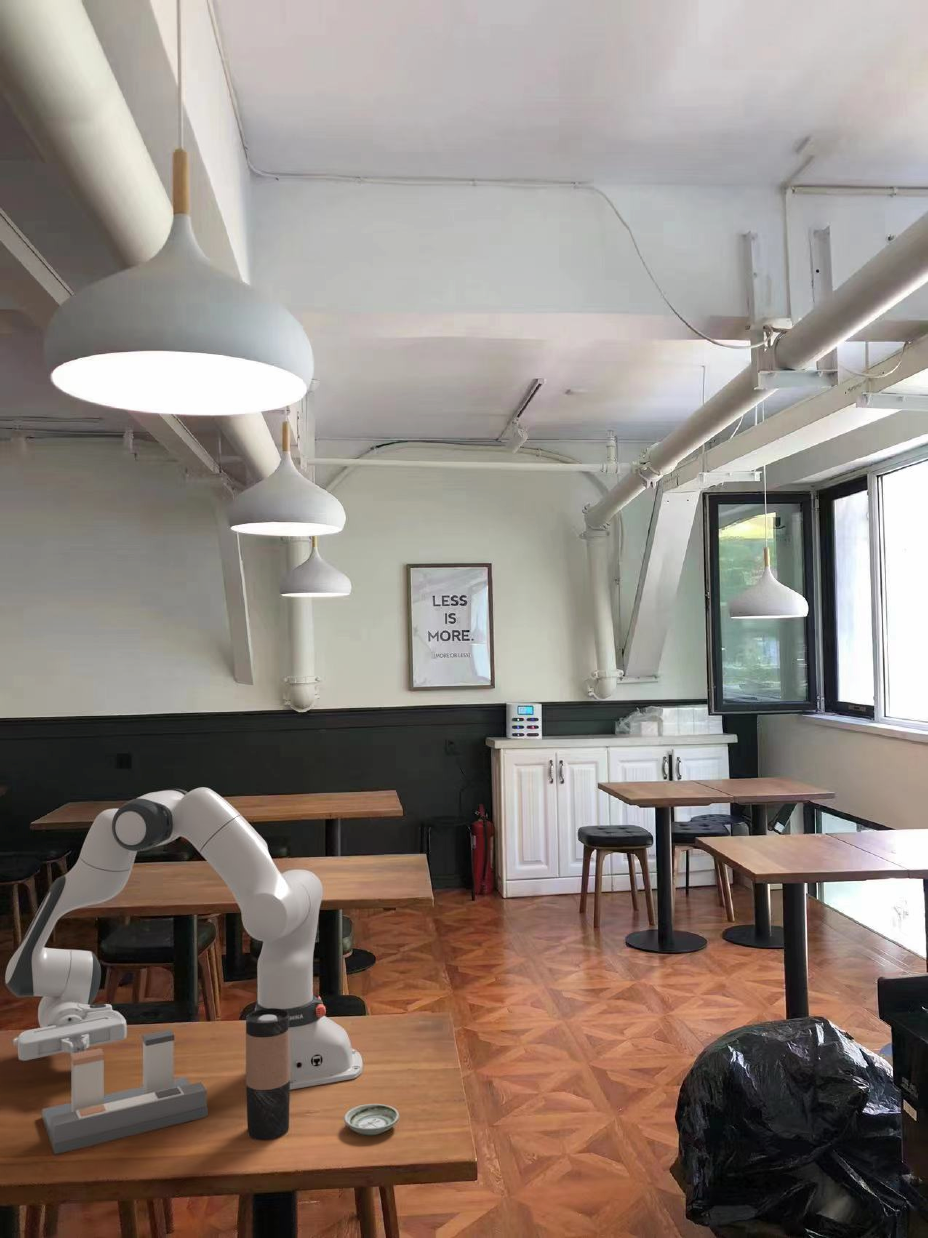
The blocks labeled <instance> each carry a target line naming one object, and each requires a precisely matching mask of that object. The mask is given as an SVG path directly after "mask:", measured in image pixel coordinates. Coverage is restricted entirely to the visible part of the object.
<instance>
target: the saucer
mask: <svg viewBox="0 0 928 1238" xmlns="http://www.w3.org/2000/svg"><path fill="white" fill-rule="evenodd" d="M399 1119H400V1114H399V1111H398V1110H397V1109H396V1108H395V1107H393V1106H391V1105H387V1104H381V1103H367V1104H363V1105H362V1104H361V1105H358V1106H355V1107H352V1108H351V1109H349V1110H348V1111H347V1112H346V1113H345V1115H344V1118H343V1120H344V1123H345V1125H346V1126H347V1127H348V1128H350V1129H351V1130H352V1131H354V1132H356V1133H358V1134H360V1135H363V1136H377V1135H380V1134H382V1133H385V1132H386V1131H388V1130H390V1129H391V1128H393V1126H395V1125H396V1123H398V1121H399Z"/></svg>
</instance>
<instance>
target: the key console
mask: <svg viewBox="0 0 928 1238" xmlns="http://www.w3.org/2000/svg"><path fill="white" fill-rule="evenodd" d="M207 1091H208V1090H207V1088H206V1087H205V1086H204V1085H203V1083H202V1082H196V1083H190V1081H189V1080H188V1078H187V1077H186V1076H183V1077H179V1078H174V1088H171V1089H166V1090H162V1091H158V1092H153V1093H149V1094H145V1095H143V1086H138V1087H135V1088H129V1089H126V1090H125V1089H124V1090H121V1091H116V1092H113V1093H108V1094H104V1104H101V1105H97V1106H92V1107H88V1108H84V1109H79V1110H76V1111H74V1112H71V1102H68V1103H64V1104H58V1105H54V1106H50V1107H45V1108H43V1109H42V1111H41V1113H42V1116H41V1117H42V1121H43V1123H44V1126H45V1129H46V1132H47V1135H48V1139H49V1141H50V1145H51V1148H52V1150H53V1154H54V1155H58V1154H62V1153H66V1152H70V1151H74V1150H78V1149H82V1148H86V1147H90V1146H95V1145H98V1144H102V1143H106V1142H110V1141H115V1140H119V1139H122V1138H127V1137H130V1136H135V1135H139V1134H143V1133H147V1132H150V1131H154V1130H159V1129H163V1128H166V1127H171V1126H175V1125H179V1124H183V1123H186V1122H190V1121H195V1120H198V1119H203V1118H207V1117H208V1116H209V1115H208V1114H209V1113H208V1112H209V1109H208V1105H207V1104H208V1103H207V1102H208V1100H207V1099H208V1092H207Z"/></svg>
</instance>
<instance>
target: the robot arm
mask: <svg viewBox="0 0 928 1238" xmlns="http://www.w3.org/2000/svg"><path fill="white" fill-rule="evenodd" d="M180 837H182V838H184V839H185V840H187V841H189V843H190V844H192V846H193V847H194V848H195V849H196V850H197V851H198V853H200V855H201V856H202V857H203V858H204V859H205V860H206V862H207V863H208V864H209V865H210V866H211V867H212V868H213V870H215V872H216V873H217V874H218V875H219V876H220V878H222V880H223V881H224V883H225V885H227V888H228V889H229V890H230V892H231V894H232V896H233V898H234V899H235V901H236V904H237V905H238V908H239V909H240V913H241V921H242V922H241V923H242V926H243V928H244V929H245V930H244V931H246V933H247V934H248V935H249V936H250V937H251V938H252V939H255V940H257V941H259V942H260V941H261V942H263V943H262V947H261V951H260V954H259V956H258V959H257V964H256V965H257V966H256V968H257V969H256V970H257V971H256V972H257V999H256V1001H255V1008H254V1011H257V1010H261V1009H268V1008H277V1009H282V1010H285V1011H287V1012H288V1014H289V1054H290V1091H291V1090H295V1089H297V1090H298V1089H301V1088H306V1087H307V1088H308V1087H313V1086H319V1085H320V1086H321V1085H325V1084H331V1083H336V1082H341V1081H347V1080H354V1079H357V1078H358V1077H359V1076H360V1075H361V1073H362V1072H363V1069H364V1065H363V1058H362V1056H361V1054H360V1052H359V1051H358V1050H356V1049H354V1048H352V1044H351V1040H350V1038H349V1035H348V1033H347V1031H346V1030H345V1029H344V1027H342V1026H341V1025H339V1024H338V1023H336V1022H335V1021H333V1020H332V1019H330V1018H328V1017H327V1016H326V1012H327V1010H326V1006H325V1005H324V1002H323V1000H322V998H321V997H320V996H319V995H318V996H316V995H314V981H313V979H314V977H313V976H314V971H313V970H314V966H313V965H314V963H313V962H314V951H315V944H316V938H317V931H318V924H319V923H318V922H319V914H320V908H321V904H322V901H323V898H324V888H323V884H322V882H321V879H320V878H319V877H318V876H317V875H316V874H315V873H314V872H311V871H310V870H307V869H299V868H297V869H290V870H287V871H284V872H281V871H280V870H279V869H278V867H277V866H276V863H275V862H274V860H273V858H272V856H271V855H270V851H269V847H268V843H267V841H266V840H265V839H264V838H263V837H262V835H260V834H259V833H258V832H257V830H255V828H254V827H253V826H252V825H251V824H250V823H249V822H248V821H247V819H246V818H244V817H243V815H242V814H241V813H240V812H239V811H238V810H237V809H236V808H235V807H234V806H232V804H230V802H228V801H227V800H226V799H225V798H223V797H222V796H221V795H220V794H219V793H217V792H216V791H214V790H212V789H211V788H209V787H204V786H203V787H197V788H194V789H191V790H190V791H189V792H188V791H186V790H184V789H180V788H166V789H163V790H159V791H154V792H148V793H146V794H143V795H141V796H139V797H136V798H133V799H131V800H128V801H127V802H125V803H124V804H123V805H121V806H120V807H119V808H108V809H104V810H102V812H100V813H99V814H98V815H97V816H96V817H95V819H94V821H93V823H92V824H91V826H90V828H89V830H88V833H87V834H86V837H85V839H84V842H83V844H82V848H81V850H80V853H79V857H78V858H77V861H76V863H75V864H74V866H73V867H72V868H71V869H70V870H69V871H68V872H67V873H66V874H64V875H62V876H60V877H57V878H56V879H55V880H54V881H53V883H52V884H51V885H50V887H49V889H48V891H47V892H46V894H45V895H44V898H43V900H42V901H41V903H40V905H39V908H38V909H37V911H36V913H35V915H34V917H33V919H32V920H31V923H30V925H29V926H28V928H27V931H26V932H25V935H24V936H23V938H22V940H21V942H20V944H19V945H18V946H17V948H16V949H15V951H14V953H13V955H12V957H11V958H10V959H9V962H8V964H7V966H6V970H5V975H4V976H5V977H4V978H5V979H4V984H5V986H6V987H7V989H8V990H9V991H10V992H11V993H12V994H13V995H14V996H15V997H17V998H30V997H31V998H33V997H42V998H41V1000H40V1002H39V1005H38V1010H37V1019H38V1025H39V1026H40V1027H37V1028H32V1029H28V1030H24V1031H22V1032H21V1033H20V1034H19V1035H18V1037H15V1038H13V1041H12V1043H13V1045H14V1047H17V1054H18V1055H17V1057H18V1060H19V1061H23V1062H24V1061H30V1060H34V1059H40V1058H44V1057H49V1056H53V1055H57V1054H58V1055H59V1054H64V1053H69V1054H70V1056H71V1054H74V1053H79V1052H84V1051H88V1049H87V1048H91V1047H96V1046H101V1045H105V1044H110V1043H114V1042H119V1041H123V1040H125V1039H126V1038H127V1035H128V1030H127V1029H128V1028H127V1027H128V1026H127V1020H126V1019H125V1017H124V1016H123V1015H122V1014H121V1013H120V1012H119V1011H118V1010H113V1006H112V1004H109V1003H103V1004H102V1003H101V1004H99V1003H98V1004H92V1003H93V1002H94V1000H95V999H96V997H97V996H98V993H99V989H100V985H101V979H102V968H101V967H102V966H101V963H100V961H99V960H98V957H97V956H96V954H95V953H94V952H93V951H91V950H82V949H65V948H64V949H62V948H51V947H45V946H46V944H47V942H48V940H49V938H50V936H51V934H52V932H53V930H54V928H55V926H56V924H57V922H58V920H59V919H60V918H61V917H62V916H64V915H65V914H67V913H69V912H72V911H74V910H77V909H80V908H84V907H87V906H92V905H98V904H102V903H104V902H106V901H109V900H111V899H113V898H115V897H116V896H117V895H120V893H121V892H122V891H123V890H124V888H125V887H126V885H127V882H129V881H128V880H129V878H130V876H131V873H132V870H133V866H134V863H135V860H136V856H137V853H138V852H141V851H142V852H144V851H148V850H150V849H154V848H155V847H158V846H163V845H167V844H168V843H171V842H173V841H175V840H176V839H178V838H180Z"/></svg>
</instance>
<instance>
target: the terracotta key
mask: <svg viewBox="0 0 928 1238" xmlns="http://www.w3.org/2000/svg"><path fill="white" fill-rule="evenodd" d="M104 1060H105V1052H104V1050H103V1049H102V1048H101V1047H99V1048H96V1049H95V1048H94V1049H90V1050H89V1049H88V1050H87V1051H84V1052H79V1053H74V1054H71V1055H70V1062H71V1071H70V1072H71V1078H70V1080H71V1083H70V1084H71V1085H70V1086H71V1088H70V1089H71V1095H70V1096H71V1099H70V1100H71V1102H70V1103H71V1112H74V1111H76V1110H79V1109H84V1108H88V1107H92V1106H97V1105H101V1104H104V1095H105V1089H104V1088H105V1085H104V1083H105V1082H104V1078H105V1077H104V1076H105V1075H104V1074H105V1072H104V1071H105V1070H104V1069H105V1067H104V1065H105V1062H104Z"/></svg>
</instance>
